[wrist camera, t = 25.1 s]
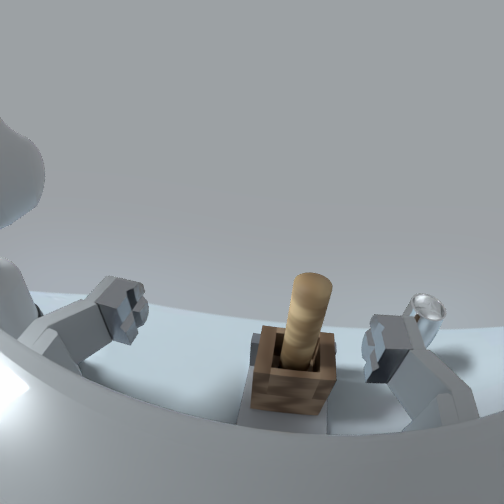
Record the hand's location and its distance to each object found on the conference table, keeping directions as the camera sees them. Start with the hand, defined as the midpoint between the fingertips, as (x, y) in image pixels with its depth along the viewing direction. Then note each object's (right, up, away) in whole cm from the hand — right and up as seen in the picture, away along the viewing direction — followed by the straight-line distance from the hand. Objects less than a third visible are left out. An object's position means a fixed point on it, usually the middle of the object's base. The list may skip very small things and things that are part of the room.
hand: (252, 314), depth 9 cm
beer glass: (+26, -19, +33) cm, 46 cm away
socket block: (+5, -19, +29) cm, 35 cm away
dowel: (+5, -15, +26) cm, 31 cm away
